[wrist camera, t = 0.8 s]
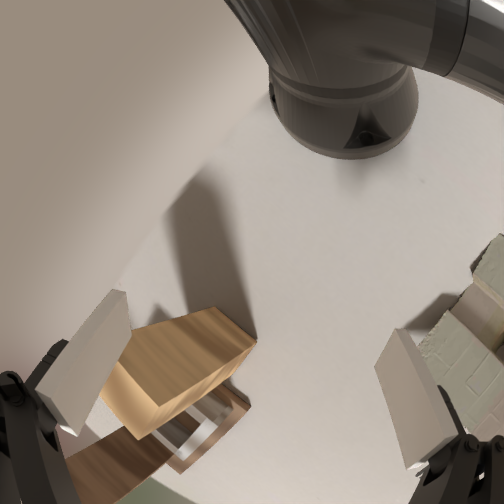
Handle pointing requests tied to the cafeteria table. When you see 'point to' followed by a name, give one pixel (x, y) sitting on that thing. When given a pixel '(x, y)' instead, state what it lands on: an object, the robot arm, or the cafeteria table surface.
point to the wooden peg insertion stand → (153, 448)
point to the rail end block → (173, 367)
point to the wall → (473, 348)
